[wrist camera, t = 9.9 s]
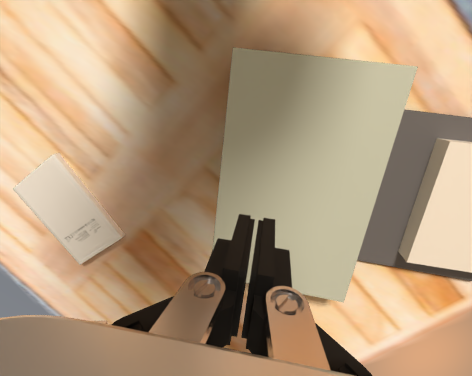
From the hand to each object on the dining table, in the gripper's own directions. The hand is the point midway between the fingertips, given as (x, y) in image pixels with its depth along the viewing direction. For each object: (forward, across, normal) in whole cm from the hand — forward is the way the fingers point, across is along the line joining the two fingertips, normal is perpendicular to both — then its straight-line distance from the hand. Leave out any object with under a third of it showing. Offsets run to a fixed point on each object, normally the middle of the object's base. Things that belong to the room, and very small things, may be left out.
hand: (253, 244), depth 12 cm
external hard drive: (+17, +23, +10) cm, 31 cm away
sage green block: (+16, -3, +2) cm, 17 cm away
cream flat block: (+14, -19, +2) cm, 24 cm away
